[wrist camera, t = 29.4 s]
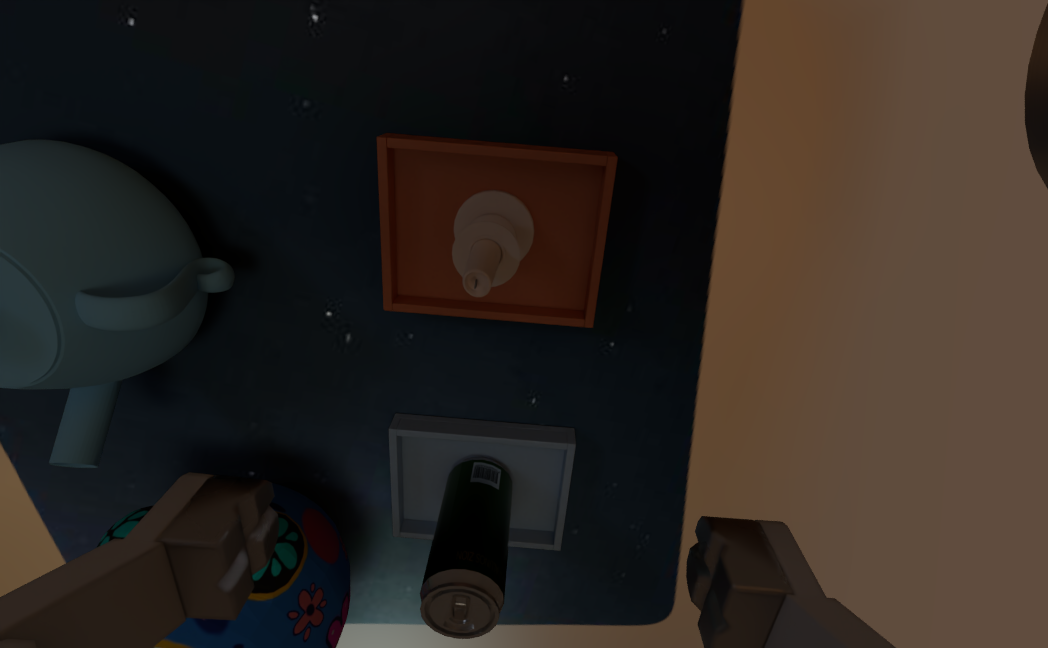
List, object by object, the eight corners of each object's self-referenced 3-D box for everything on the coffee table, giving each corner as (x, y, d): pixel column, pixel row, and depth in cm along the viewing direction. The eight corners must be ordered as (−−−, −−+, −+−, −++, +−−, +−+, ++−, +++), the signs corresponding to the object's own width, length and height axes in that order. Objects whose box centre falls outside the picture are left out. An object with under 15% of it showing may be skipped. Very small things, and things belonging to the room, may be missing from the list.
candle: (456, 266, 36) (424, 335, 27) (453, 188, 34) (417, 233, 24) (533, 268, 36) (528, 338, 27) (535, 190, 34) (531, 236, 24)
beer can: (450, 449, 43) (418, 578, 32) (517, 457, 43) (507, 588, 32) (446, 499, 45) (415, 636, 34) (509, 507, 45) (498, 645, 34)
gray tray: (574, 427, 42) (575, 444, 40) (559, 531, 47) (560, 550, 45) (395, 412, 42) (388, 428, 40) (398, 518, 47) (392, 536, 45)
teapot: (237, 140, 34) (79, 177, 22) (286, 405, 42) (191, 529, 31) (-70, 127, 34) (-381, 157, 23) (41, 393, 43) (-143, 511, 31)
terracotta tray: (613, 151, 33) (617, 156, 31) (590, 315, 38) (592, 328, 36) (385, 132, 33) (376, 136, 31) (391, 298, 38) (383, 310, 36)
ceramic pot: (367, 445, 44) (287, 613, 30) (381, 594, 51) (323, 781, 38) (155, 432, 44) (-19, 593, 30) (201, 582, 52) (79, 765, 38)
